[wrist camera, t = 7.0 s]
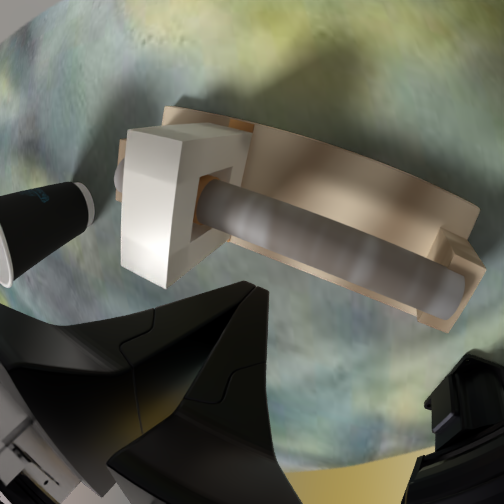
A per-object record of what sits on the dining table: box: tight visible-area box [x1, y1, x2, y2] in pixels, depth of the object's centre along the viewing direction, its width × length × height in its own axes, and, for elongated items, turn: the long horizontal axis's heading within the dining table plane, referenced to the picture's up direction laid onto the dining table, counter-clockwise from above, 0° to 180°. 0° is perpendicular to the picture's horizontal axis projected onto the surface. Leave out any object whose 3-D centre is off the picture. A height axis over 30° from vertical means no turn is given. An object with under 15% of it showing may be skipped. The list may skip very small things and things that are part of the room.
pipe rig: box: [114, 106, 486, 333], centre depth 16 cm, size 21×8×6 cm, turn 77°
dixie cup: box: [0, 182, 95, 288], centre depth 23 cm, size 8×8×11 cm
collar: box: [121, 123, 252, 289], centre depth 16 cm, size 3×7×7 cm, turn 167°
